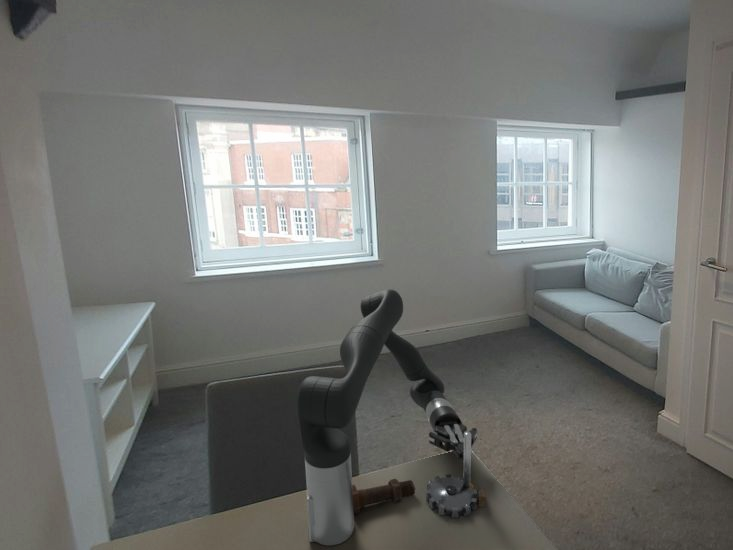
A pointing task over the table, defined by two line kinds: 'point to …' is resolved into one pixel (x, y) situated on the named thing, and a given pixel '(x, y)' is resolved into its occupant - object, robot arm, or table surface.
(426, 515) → the table surface
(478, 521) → the table surface
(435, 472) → the table surface
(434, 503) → the sprocket
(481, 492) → the brown block
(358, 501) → the bolt
